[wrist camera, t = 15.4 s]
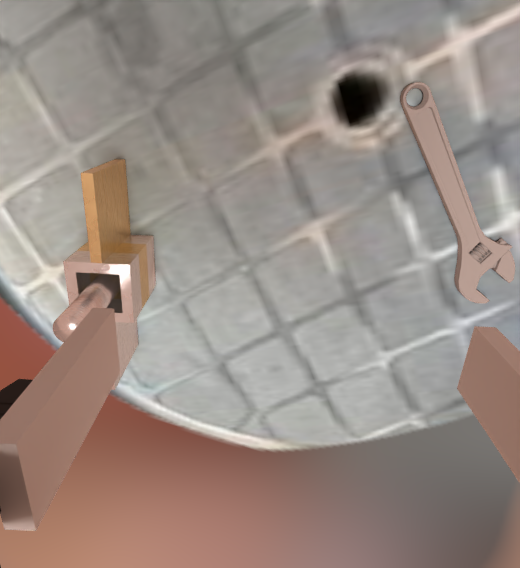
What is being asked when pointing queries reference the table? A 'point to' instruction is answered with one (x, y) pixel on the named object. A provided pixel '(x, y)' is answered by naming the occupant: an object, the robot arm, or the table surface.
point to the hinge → (113, 253)
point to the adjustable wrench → (456, 200)
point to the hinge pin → (87, 304)
